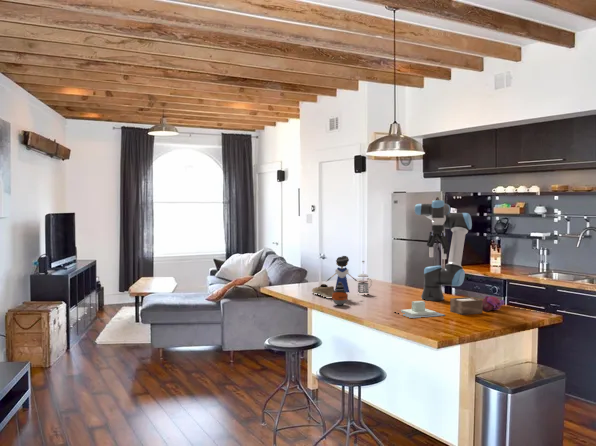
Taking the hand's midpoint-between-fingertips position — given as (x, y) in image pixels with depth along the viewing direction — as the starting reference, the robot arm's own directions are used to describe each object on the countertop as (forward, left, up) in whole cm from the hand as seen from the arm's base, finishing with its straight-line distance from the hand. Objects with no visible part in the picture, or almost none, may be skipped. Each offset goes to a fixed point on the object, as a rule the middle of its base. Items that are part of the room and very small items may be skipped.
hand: (437, 258), depth 325 cm
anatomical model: (+18, +26, -32) cm, 45 cm away
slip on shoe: (-68, -49, -32) cm, 90 cm away
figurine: (-53, -42, -32) cm, 75 cm away
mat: (+12, -22, -32) cm, 40 cm away
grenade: (-30, -54, -32) cm, 70 cm away
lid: (+12, -22, -31) cm, 40 cm away
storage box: (+18, +8, -32) cm, 37 cm away
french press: (-63, -19, -32) cm, 73 cm away
